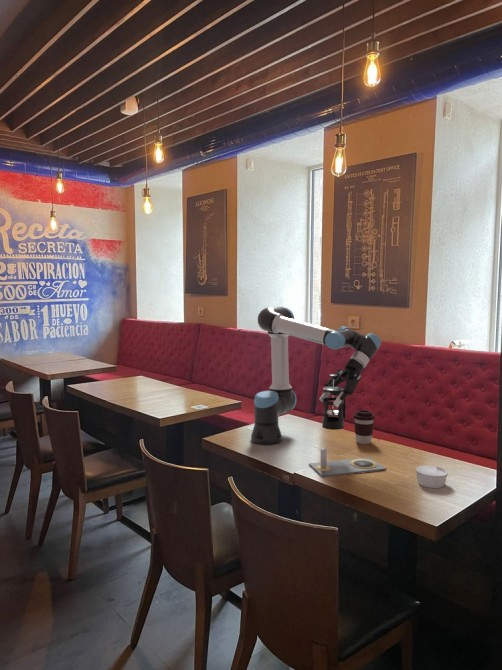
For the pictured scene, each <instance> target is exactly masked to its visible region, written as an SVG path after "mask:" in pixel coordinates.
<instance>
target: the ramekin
mask: <svg viewBox="0 0 502 670" xmlns="http://www.w3.org/2000/svg"><path fill="white" fill-rule="evenodd" d="M415 473H416V478H417V482H418V484H419V485H421V486H423V487H425V488H428V489H441V488H443V487H444V486H445V484H446V481H447V477H448V471H447V470H446V469H444V468H443V467H439V466H434V465H419V466H417V467H416V468H415Z"/></svg>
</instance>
